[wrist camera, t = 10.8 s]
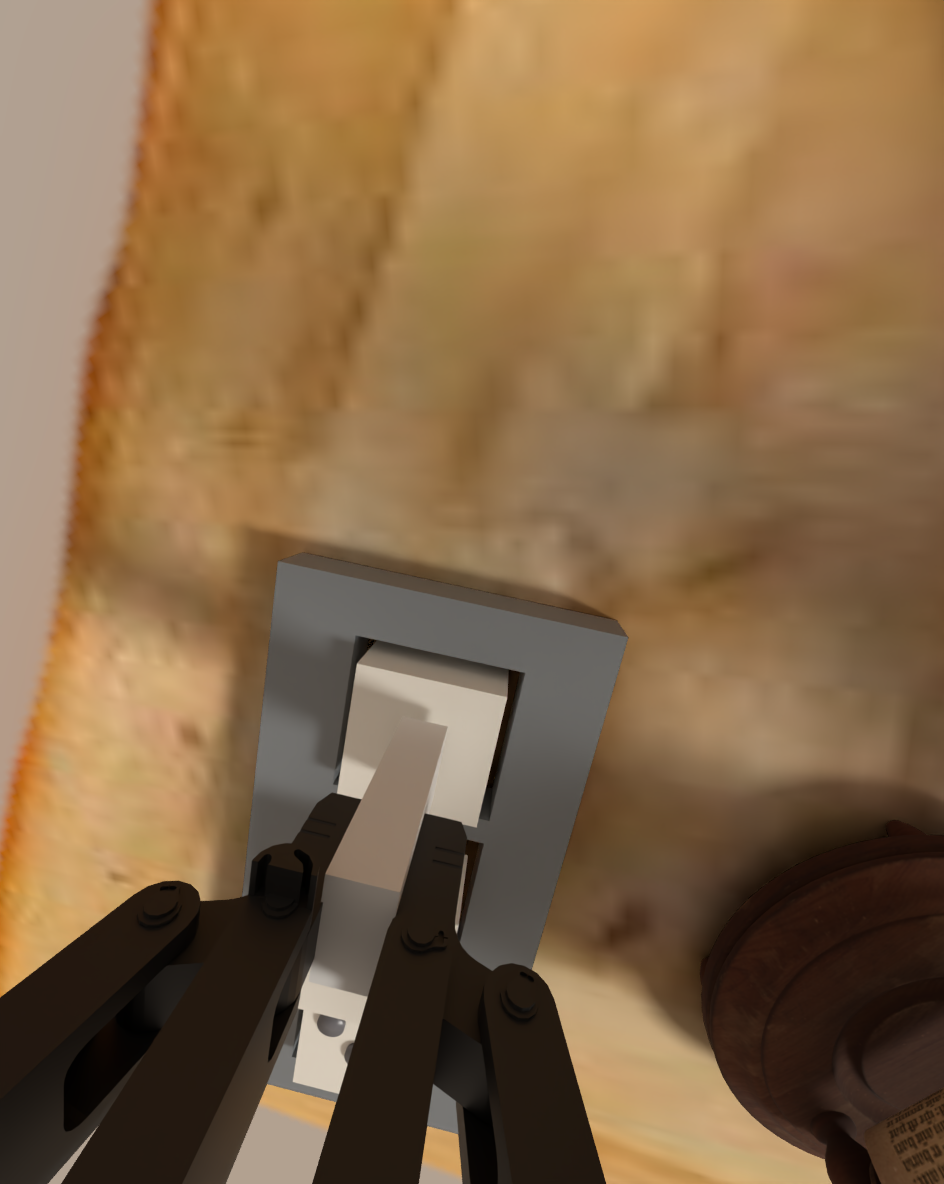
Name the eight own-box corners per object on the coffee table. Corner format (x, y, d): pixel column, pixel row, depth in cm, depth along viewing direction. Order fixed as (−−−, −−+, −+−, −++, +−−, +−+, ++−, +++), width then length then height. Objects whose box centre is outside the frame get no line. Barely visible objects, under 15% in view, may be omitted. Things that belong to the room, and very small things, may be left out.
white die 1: (333, 924, 23) (304, 995, 19) (442, 950, 22) (429, 1027, 19) (320, 1007, 24) (290, 1087, 21) (422, 1033, 24) (408, 1118, 20)
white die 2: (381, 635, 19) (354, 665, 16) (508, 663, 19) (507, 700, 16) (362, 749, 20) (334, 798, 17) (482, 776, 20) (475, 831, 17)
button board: (302, 552, 19) (277, 561, 17) (616, 620, 18) (628, 637, 16) (246, 1025, 25) (223, 1072, 23) (484, 1086, 24) (481, 1140, 22)
